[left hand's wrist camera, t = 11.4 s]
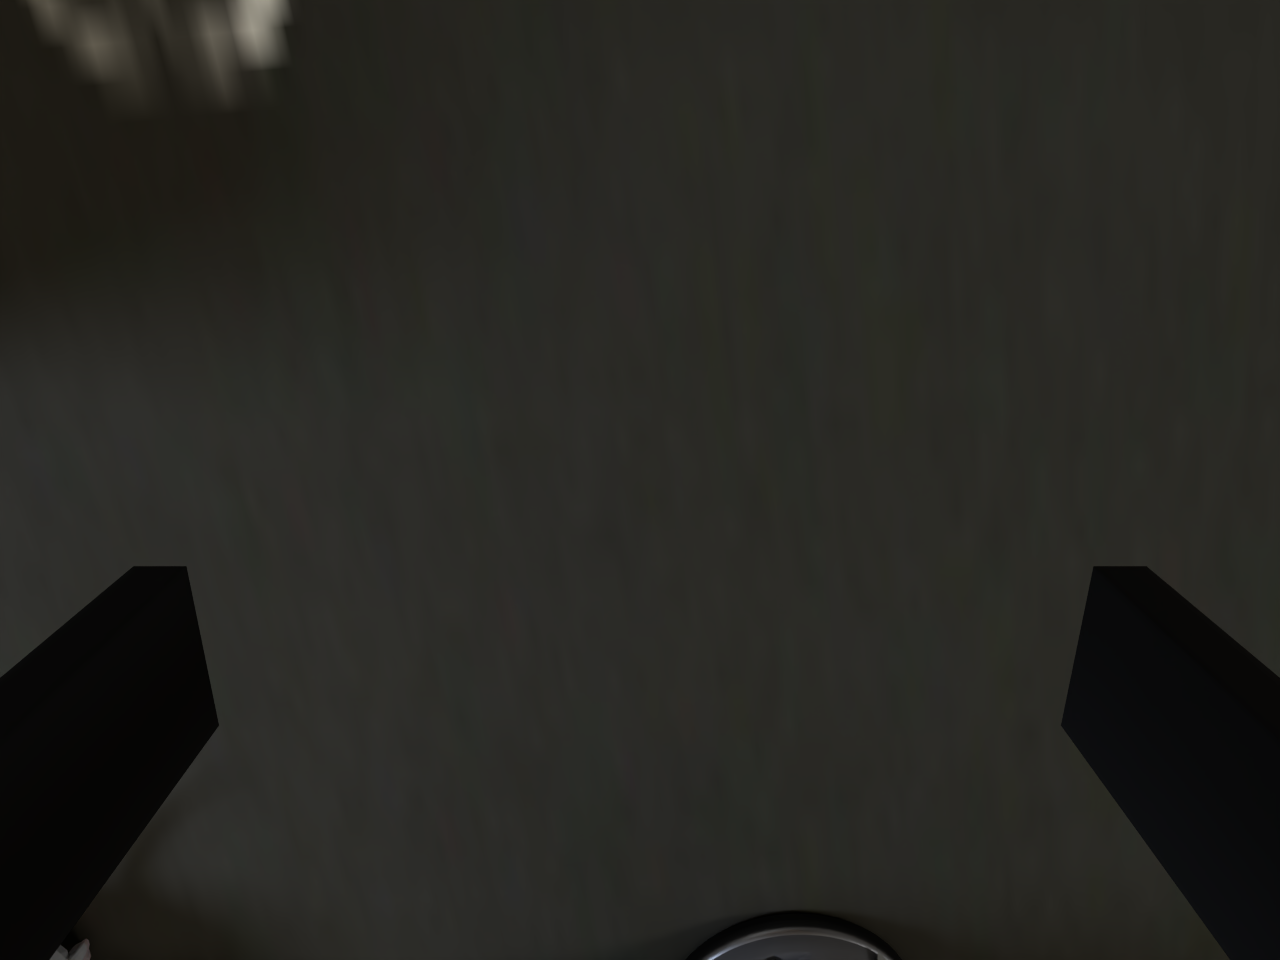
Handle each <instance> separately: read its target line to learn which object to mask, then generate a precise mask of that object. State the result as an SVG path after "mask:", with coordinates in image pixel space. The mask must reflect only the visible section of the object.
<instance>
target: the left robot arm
mask: <svg viewBox="0 0 1280 960" xmlns="http://www.w3.org/2000/svg"><path fill="white" fill-rule="evenodd" d="M218 726H219V723H218V719H217V714H216V709H215V704H214V699H213V694H212V689H211V684H210V679H209V674H208V670H207V665H206V660H205V655H204V650H203V645H202V640H201V635H200V630H199V626H198V621H197V616H196V611H195V606H194V601H193V596H192V591H191V586H190V582H189V577H188V572H187V567H186V566H133V567H132V568H131V569H130V570H129V571H127V572H126V573H125V574H124V575H123V576H121V577H120V578H119V579H118V580H117V581H115V582H114V583H113V584H112V585H111V586H109V587H108V588H107V589H106V590H105V591H103V592H102V593H101V594H100V595H99V596H98V597H96V598H95V599H94V600H93V601H92V602H90V603H89V604H88V605H87V606H86V607H84V608H83V609H82V610H81V611H80V612H78V613H77V614H76V615H75V616H74V617H72V618H71V619H70V620H69V621H68V622H66V623H65V624H64V625H63V626H62V627H60V628H59V629H58V630H57V631H56V632H54V633H53V634H52V635H51V636H50V637H49V638H47V639H46V640H45V641H44V642H43V643H41V644H40V645H39V646H38V647H37V648H35V649H34V650H33V651H32V652H31V653H29V654H28V655H27V656H26V657H25V658H23V659H22V660H21V661H20V662H19V663H17V664H16V665H15V666H14V667H13V668H11V669H10V670H9V671H8V672H7V673H6V674H4V675H3V676H2V677H1V678H0V960H50V959H51V957H52V956H53V954H54V953H55V952H56V950H57V949H58V948H59V946H60V945H61V943H62V942H63V941H64V939H65V938H66V936H67V935H68V934H69V932H70V931H71V930H72V928H73V927H74V925H75V924H76V923H77V921H78V920H79V918H80V917H81V916H82V914H83V913H84V912H85V910H86V909H87V907H88V906H89V905H90V903H91V902H92V900H93V899H94V898H95V896H96V895H97V894H98V892H99V891H100V889H101V888H102V887H103V885H104V884H105V882H106V881H107V880H108V878H109V877H110V876H111V874H112V873H113V871H114V870H115V869H116V867H117V866H118V864H119V863H120V862H121V860H122V859H123V858H124V856H125V855H126V853H127V852H128V851H129V849H130V848H131V846H132V845H133V844H134V842H135V841H136V840H137V838H138V837H139V835H140V834H141V833H142V831H143V830H144V828H145V827H146V826H147V824H148V823H149V822H150V820H151V819H152V817H153V816H154V815H155V813H156V812H157V810H158V809H159V808H160V806H161V805H162V804H163V802H164V801H165V799H166V798H167V797H168V795H169V794H170V792H171V791H172V790H173V788H174V787H175V786H176V784H177V783H178V781H179V780H180V779H181V777H182V776H183V774H184V773H185V772H186V770H187V769H188V768H189V766H190V765H191V763H192V762H193V761H194V759H195V758H196V756H197V755H198V754H199V752H200V751H201V750H202V748H203V747H204V745H205V744H206V743H207V741H208V740H209V738H210V737H211V736H212V734H213V733H214V732H215V730H216V729H217V727H218ZM1061 726H1062V727H1063V729H1064V730H1065V732H1066V733H1067V734H1068V736H1069V737H1070V738H1071V740H1072V741H1073V743H1074V744H1075V745H1076V747H1077V748H1078V750H1079V751H1080V752H1081V754H1082V755H1083V756H1084V758H1085V759H1086V761H1087V762H1088V763H1089V765H1090V766H1091V768H1092V769H1093V770H1094V772H1095V773H1096V774H1097V776H1098V777H1099V779H1100V780H1101V781H1102V783H1103V784H1104V786H1105V787H1106V788H1107V790H1108V791H1109V792H1110V794H1111V795H1112V797H1113V798H1114V799H1115V801H1116V802H1117V804H1118V805H1119V806H1120V808H1121V809H1122V810H1123V812H1124V813H1125V815H1126V816H1127V817H1128V819H1129V820H1130V822H1131V823H1132V824H1133V826H1134V827H1135V828H1136V830H1137V831H1138V833H1139V834H1140V835H1141V837H1142V838H1143V840H1144V841H1145V842H1146V844H1147V845H1148V846H1149V848H1150V849H1151V851H1152V852H1153V853H1154V855H1155V856H1156V858H1157V859H1158V860H1159V862H1160V863H1161V864H1162V866H1163V867H1164V869H1165V870H1166V871H1167V873H1168V874H1169V876H1170V877H1171V878H1172V880H1173V881H1174V882H1175V884H1176V885H1177V887H1178V888H1179V889H1180V891H1181V892H1182V894H1183V895H1184V896H1185V898H1186V899H1187V900H1188V902H1189V903H1190V905H1191V906H1192V907H1193V909H1194V910H1195V912H1196V913H1197V914H1198V916H1199V917H1200V918H1201V920H1202V921H1203V923H1204V924H1205V925H1206V927H1207V928H1208V930H1209V931H1210V932H1211V934H1212V935H1213V936H1214V938H1215V939H1216V941H1217V942H1218V943H1219V945H1220V946H1221V948H1222V949H1223V950H1224V952H1225V953H1226V954H1227V956H1228V957H1229V959H1230V960H1280V678H1279V677H1278V676H1277V675H1276V674H1274V673H1273V672H1272V671H1271V670H1270V669H1269V668H1267V667H1266V666H1265V665H1264V664H1263V663H1261V662H1260V661H1259V660H1258V659H1257V658H1255V657H1254V656H1253V655H1252V654H1251V653H1249V652H1248V651H1247V650H1246V649H1245V648H1243V647H1242V646H1241V645H1240V644H1239V643H1237V642H1236V641H1235V640H1234V639H1233V638H1231V637H1230V636H1229V635H1228V634H1227V633H1226V632H1224V631H1223V630H1222V629H1221V628H1220V627H1218V626H1217V625H1216V624H1215V623H1214V622H1212V621H1211V620H1210V619H1209V618H1208V617H1206V616H1205V615H1204V614H1203V613H1202V612H1200V611H1199V610H1198V609H1197V608H1196V607H1194V606H1193V605H1192V604H1191V603H1190V602H1188V601H1187V600H1186V599H1185V598H1184V597H1182V596H1181V595H1180V594H1179V593H1178V592H1177V591H1175V590H1174V589H1173V588H1172V587H1171V586H1169V585H1168V584H1167V583H1166V582H1165V581H1163V580H1162V579H1161V578H1160V577H1159V576H1157V575H1156V574H1155V573H1154V572H1153V571H1151V570H1150V569H1149V568H1148V567H1147V566H1094V567H1093V572H1092V577H1091V582H1090V586H1089V591H1088V596H1087V601H1086V606H1085V611H1084V616H1083V621H1082V626H1081V630H1080V635H1079V640H1078V645H1077V650H1076V655H1075V660H1074V665H1073V670H1072V674H1071V679H1070V684H1069V689H1068V694H1067V699H1066V704H1065V709H1064V714H1063V719H1062V723H1061ZM686 960H901V958H900V957H899V956H898V955H897V953H896V952H895V951H894V950H893V949H892V948H891V947H890V946H889V945H888V944H887V943H886V942H885V941H883V940H882V939H881V938H879V937H878V936H876V935H875V934H873V933H872V932H870V931H868V930H866V929H864V928H862V927H860V926H858V925H855V924H853V923H850V922H847V921H844V920H841V919H837V918H833V917H828V916H822V915H815V914H781V915H772V916H766V917H761V918H757V919H753V920H749V921H746V922H743V923H740V924H738V925H735V926H733V927H730V928H728V929H726V930H724V931H722V932H720V933H718V934H716V935H715V936H713V937H712V938H710V939H708V940H707V941H706V942H704V943H703V944H702V945H700V946H699V947H698V948H697V949H696V950H695V951H694V952H693V953H691V954H690V956H689V957H688V958H687V959H686Z"/></svg>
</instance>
